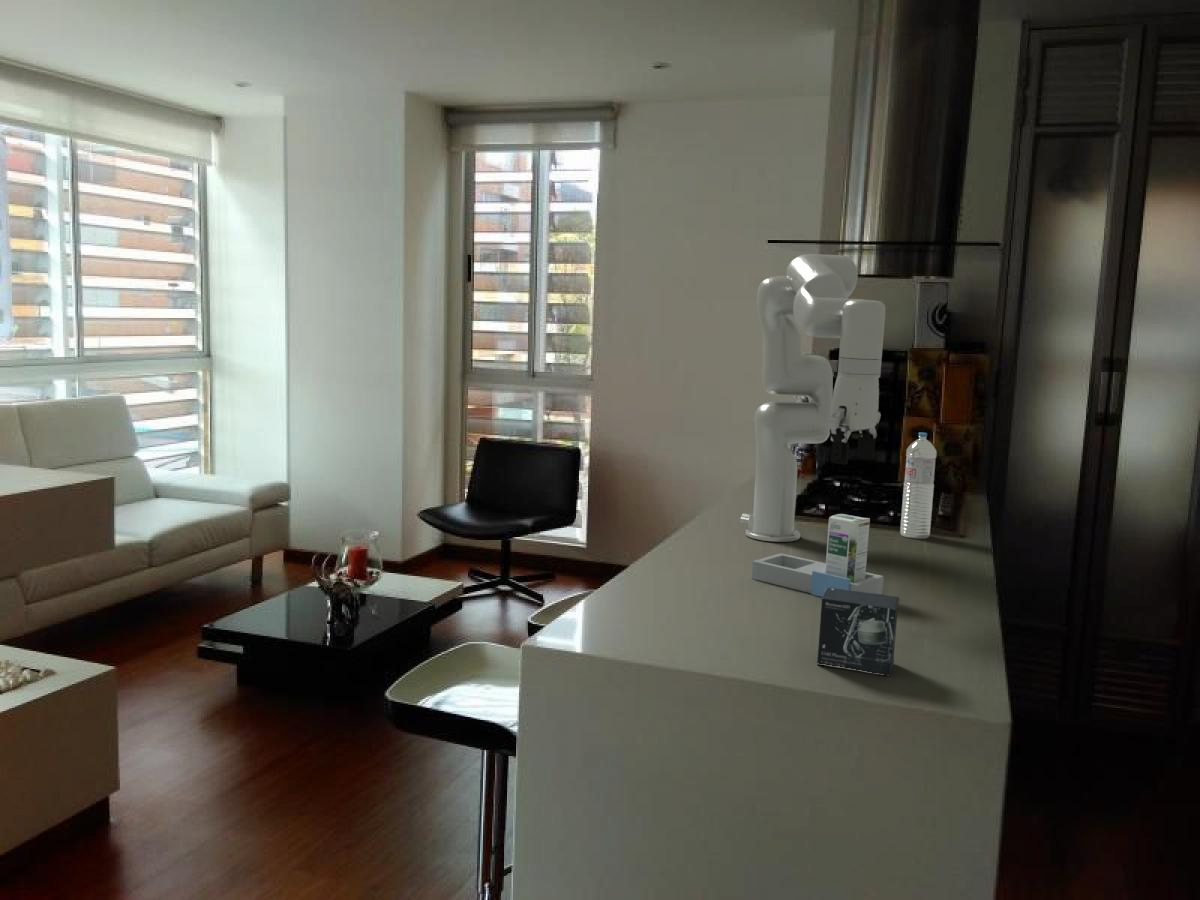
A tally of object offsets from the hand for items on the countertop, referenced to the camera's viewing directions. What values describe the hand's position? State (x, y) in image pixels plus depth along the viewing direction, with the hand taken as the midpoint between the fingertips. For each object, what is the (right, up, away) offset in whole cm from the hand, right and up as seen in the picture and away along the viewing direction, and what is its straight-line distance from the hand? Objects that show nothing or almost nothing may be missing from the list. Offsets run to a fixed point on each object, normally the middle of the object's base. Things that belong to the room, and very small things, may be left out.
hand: (852, 460), depth 177 cm
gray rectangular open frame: (-5, -24, +6) cm, 25 cm away
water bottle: (+29, -19, +53) cm, 63 cm away
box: (-9, -30, -35) cm, 47 cm away
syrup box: (-1, -25, +2) cm, 25 cm away
